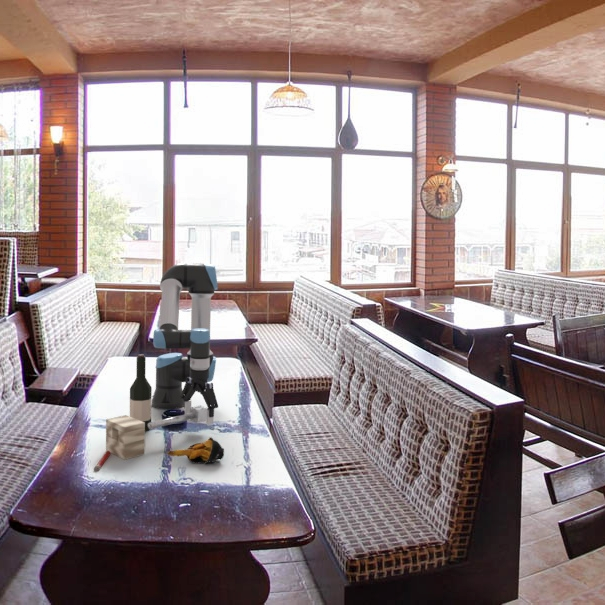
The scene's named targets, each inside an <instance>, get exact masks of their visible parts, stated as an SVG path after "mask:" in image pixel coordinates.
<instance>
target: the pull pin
mask: <svg viewBox="0 0 605 605" xmlns="http://www.w3.org/2000/svg"><path fill="white" fill-rule="evenodd" d="M207 409H208V407H205V406H202V405H196V406H191V408H190V413H188V414H185V413H184V414H180V415H176V416H173V417H168V418H164V419H159V420H155V421H151V423H148V428H149V429H150V430H153V429H157V428H158V429H159V428H163V427H166V426H168V425H173V424H177V423H181V422H185V421H186V422H187V421H189V420H190V421H192V422H194V423H197V424H199V423H204V422H206V420H207Z"/></svg>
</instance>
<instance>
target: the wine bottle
mask: <svg viewBox="0 0 605 605" xmlns="http://www.w3.org/2000/svg"><path fill="white" fill-rule="evenodd" d="M152 391H153V390H152V386H151V384H150V383H149V380H148V379H147V378H146V356H145V354H144V353H141V354H137V356H136V378H135V380H134V381H133V382H132V384H131V386H130V388H129V417H132V418H134V419H137V420H139V421H142V422H145V432H148V431H149V430H151V429H149V428H148V423H151V422H152Z"/></svg>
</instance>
